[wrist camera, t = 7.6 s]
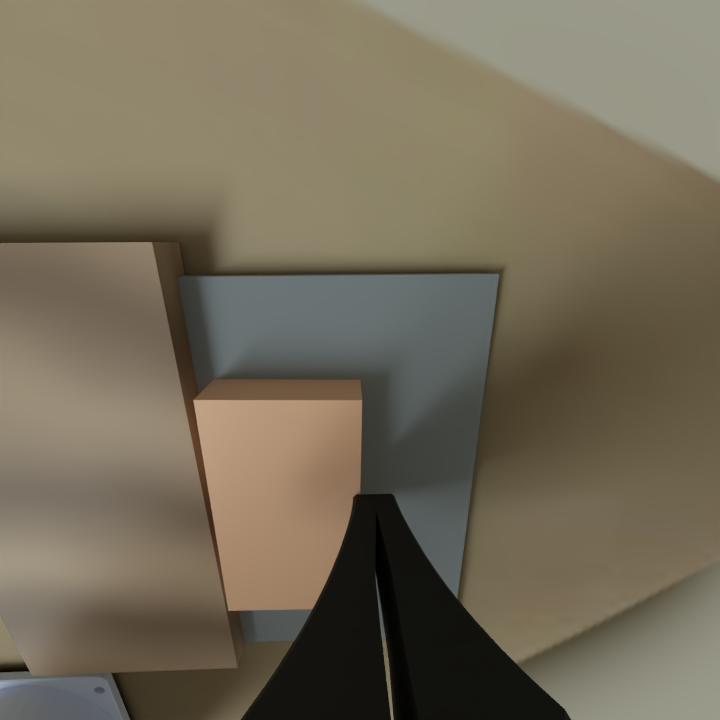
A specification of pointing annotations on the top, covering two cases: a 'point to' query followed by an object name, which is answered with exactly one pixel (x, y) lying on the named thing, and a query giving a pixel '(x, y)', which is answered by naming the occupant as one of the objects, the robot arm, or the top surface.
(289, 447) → the peach rectangular block
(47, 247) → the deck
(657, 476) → the top surface
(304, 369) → the mat
